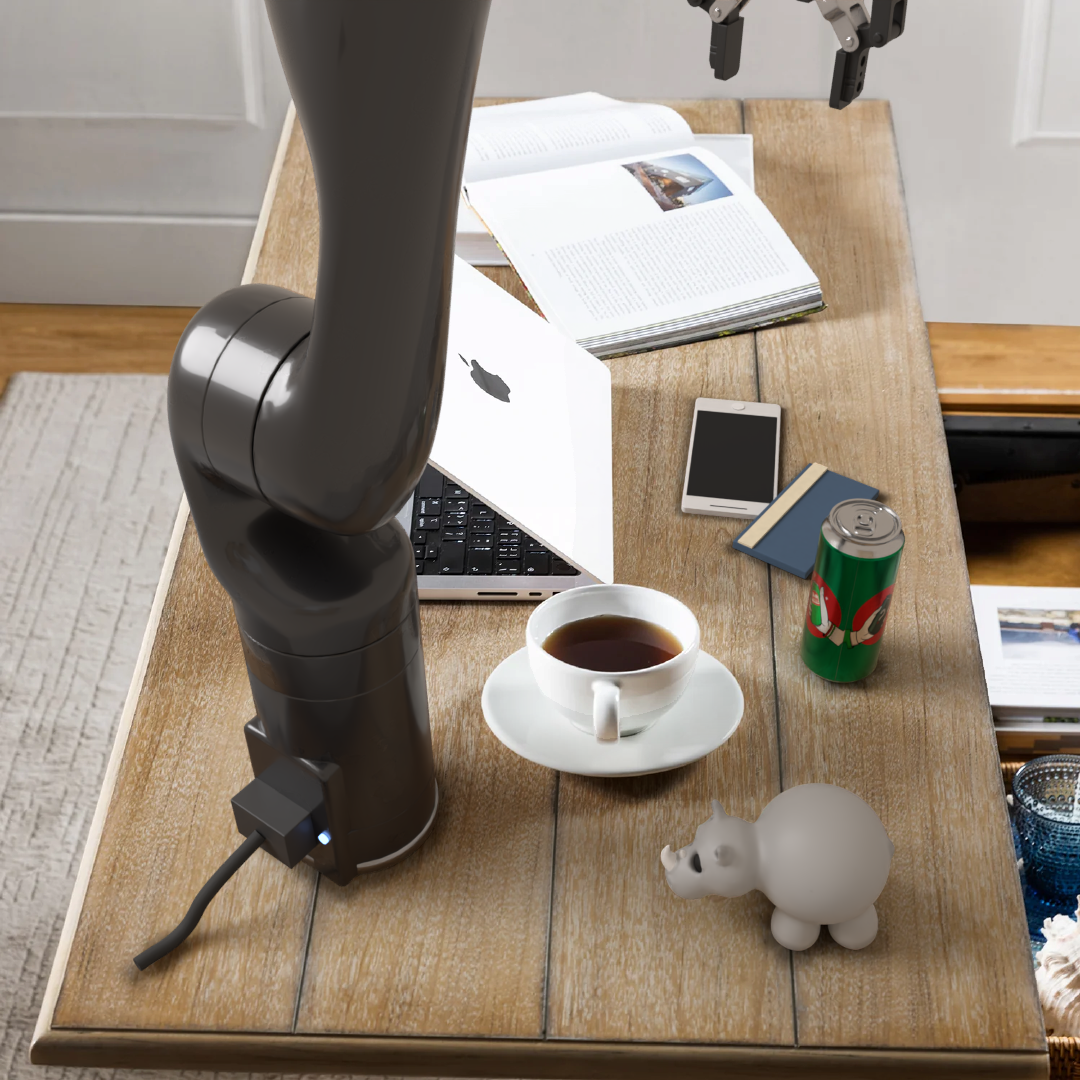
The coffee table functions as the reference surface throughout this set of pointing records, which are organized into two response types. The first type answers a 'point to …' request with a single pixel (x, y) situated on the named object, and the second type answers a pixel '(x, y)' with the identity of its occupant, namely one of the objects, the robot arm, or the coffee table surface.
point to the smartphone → (732, 458)
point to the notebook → (799, 519)
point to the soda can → (851, 589)
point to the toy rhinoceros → (794, 863)
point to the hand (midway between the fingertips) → (782, 91)
